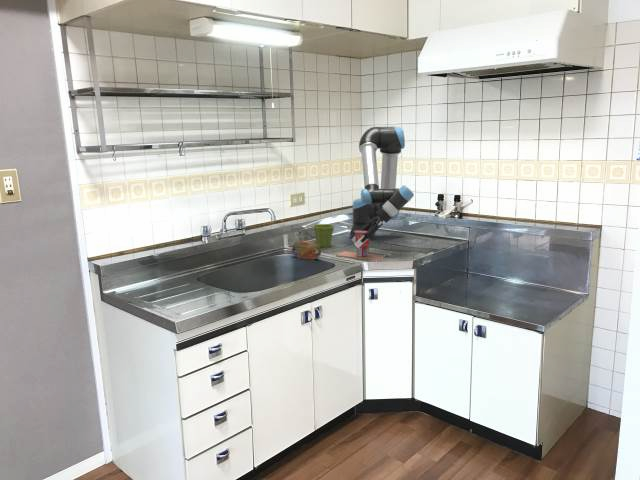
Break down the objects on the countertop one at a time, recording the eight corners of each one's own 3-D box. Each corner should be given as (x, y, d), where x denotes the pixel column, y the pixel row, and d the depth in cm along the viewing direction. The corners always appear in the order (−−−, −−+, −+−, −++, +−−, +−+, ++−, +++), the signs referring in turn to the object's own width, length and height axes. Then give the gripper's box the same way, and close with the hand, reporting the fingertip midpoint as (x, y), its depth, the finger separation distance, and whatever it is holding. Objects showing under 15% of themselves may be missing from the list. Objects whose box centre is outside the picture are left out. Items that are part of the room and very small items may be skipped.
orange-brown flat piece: (292, 257, 259) (291, 240, 258) (295, 256, 262) (295, 239, 261) (319, 260, 253) (319, 243, 251) (322, 259, 255) (322, 242, 254)
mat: (344, 252, 270) (344, 251, 270) (384, 256, 260) (384, 255, 260) (335, 256, 261) (335, 255, 261) (377, 260, 252) (377, 259, 252)
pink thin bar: (347, 250, 273) (347, 250, 273) (387, 255, 264) (387, 254, 264) (345, 251, 271) (345, 251, 271) (385, 256, 262) (385, 255, 262)
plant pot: (326, 249, 277) (326, 228, 275) (308, 246, 284) (308, 226, 282) (339, 245, 286) (339, 225, 284) (321, 243, 293) (321, 223, 291)
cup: (370, 254, 263) (371, 230, 261) (370, 257, 254) (371, 232, 253) (351, 253, 263) (352, 230, 262) (351, 256, 255) (352, 231, 254)
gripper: (396, 221, 247) (363, 254, 249) (387, 214, 269) (356, 244, 271) (385, 210, 245) (352, 243, 248) (377, 203, 268) (346, 234, 270)
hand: (354, 244), depth 260 cm, fingers open, 10 cm apart
